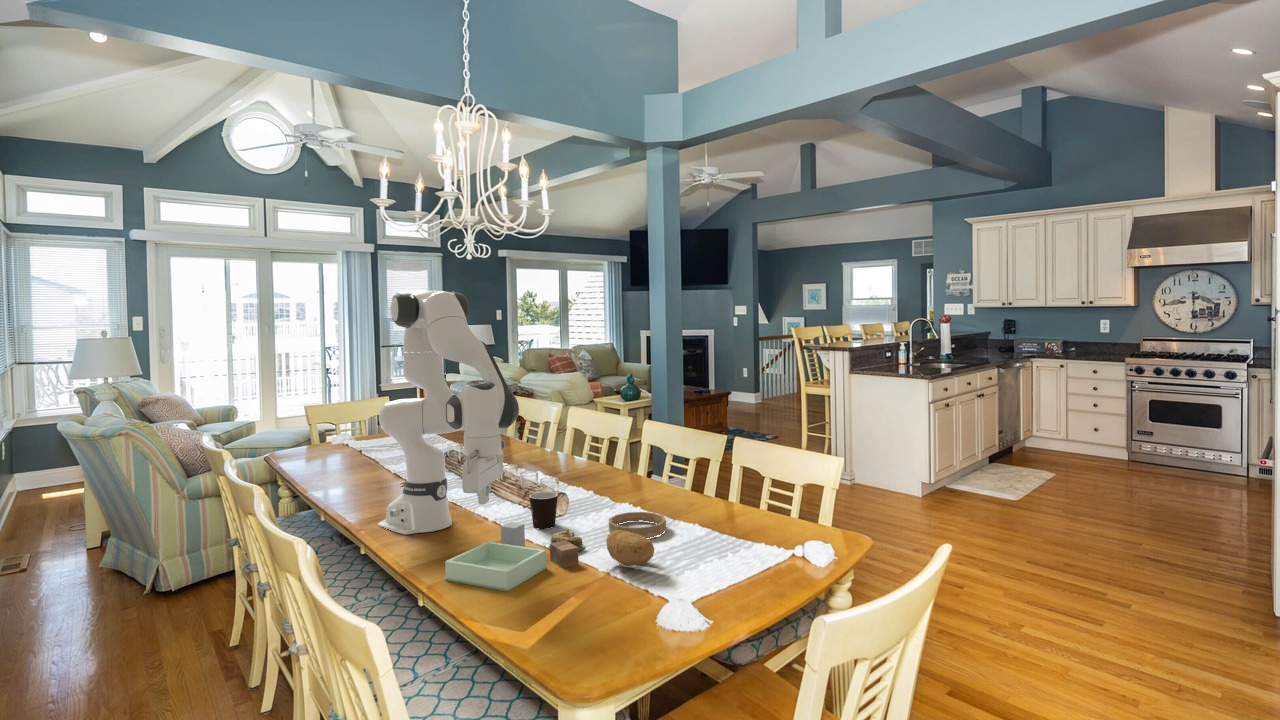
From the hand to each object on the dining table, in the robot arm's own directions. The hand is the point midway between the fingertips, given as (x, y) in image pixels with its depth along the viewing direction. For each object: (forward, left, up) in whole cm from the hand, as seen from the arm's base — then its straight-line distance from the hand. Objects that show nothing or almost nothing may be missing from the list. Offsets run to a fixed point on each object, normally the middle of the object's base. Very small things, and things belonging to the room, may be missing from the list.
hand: (483, 502), depth 157 cm
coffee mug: (-7, +38, -17) cm, 42 cm away
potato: (+31, +18, -17) cm, 40 cm away
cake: (+9, +23, -18) cm, 30 cm away
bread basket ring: (+21, +44, -17) cm, 51 cm away
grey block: (-3, +16, -17) cm, 23 cm away
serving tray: (+4, 0, -17) cm, 18 cm away
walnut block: (+12, +15, -15) cm, 24 cm away
